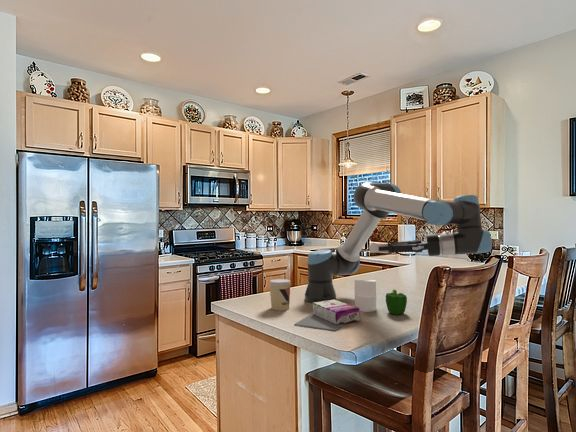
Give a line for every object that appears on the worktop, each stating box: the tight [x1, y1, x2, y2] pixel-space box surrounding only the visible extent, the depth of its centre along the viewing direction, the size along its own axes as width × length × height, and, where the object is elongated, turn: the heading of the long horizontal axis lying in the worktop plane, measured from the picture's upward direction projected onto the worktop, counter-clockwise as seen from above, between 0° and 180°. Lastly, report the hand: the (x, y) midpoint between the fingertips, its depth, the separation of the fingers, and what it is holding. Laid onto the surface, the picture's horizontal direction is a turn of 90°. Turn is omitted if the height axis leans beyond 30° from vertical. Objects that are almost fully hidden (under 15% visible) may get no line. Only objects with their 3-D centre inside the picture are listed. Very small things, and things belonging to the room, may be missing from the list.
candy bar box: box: [312, 299, 361, 324], centre depth 137 cm, size 11×5×16 cm
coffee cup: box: [268, 278, 292, 311], centre depth 154 cm, size 9×9×12 cm
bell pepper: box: [385, 289, 408, 316], centre depth 144 cm, size 8×8×10 cm
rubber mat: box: [294, 312, 346, 332], centre depth 133 cm, size 16×17×1 cm
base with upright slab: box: [354, 279, 377, 313], centre depth 151 cm, size 9×9×12 cm
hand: (369, 248), depth 128 cm, fingers closed
